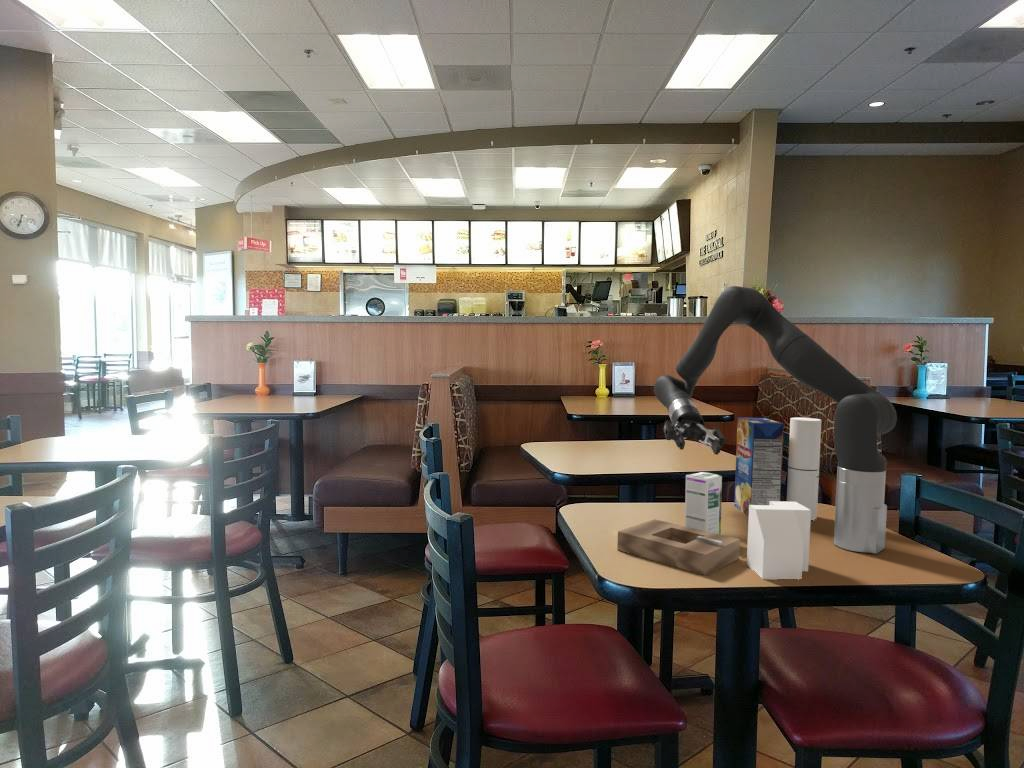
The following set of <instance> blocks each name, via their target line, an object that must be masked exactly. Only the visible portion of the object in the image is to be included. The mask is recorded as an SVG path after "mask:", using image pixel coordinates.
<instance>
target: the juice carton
mask: <svg viewBox="0 0 1024 768" xmlns="http://www.w3.org/2000/svg"><path fill="white" fill-rule="evenodd" d="M784 424H785V423H784V422H780V421H777V420H773V419H770V418H766V417H737V427H736V451H735V452H736V456H735V477H734V478H735V480H734V501H733V502H734V503H739V504H734V503H733V505H734V507H735V508H736V509H737V510H739V511H740V512H741V513H743V514H744V515H745V516H747V517H748V518H749V505H769V501H781V497H782V496H781V495H782V493H781V492H782V472H783V471H782V469H783V451H784V450H783V449H784V448H783V447H784V446H783V445H784Z"/></svg>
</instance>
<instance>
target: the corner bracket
mask: <svg viewBox="0 0 1024 768" xmlns="http://www.w3.org/2000/svg"><path fill="white" fill-rule="evenodd" d="M811 523H812V521H811V510H810V509H808V508H806V507H805V506H803V505H801V504H799V503H797V502H787V500H785V501H784V500H783V501H781V500H780V501H769V505H749V517H748V523H747V545H746V547H747V548H746V565H747V567H748V568H750V569H751V570H752V571H753V570H754V571H755V572H756V573H757V574H758V575H759V576H760V577H761V578H762V580H777V579H798V580H797V581H800V580H799V579H803V578H802V577H803V572H809V563H810V562H809V561H810V539H811V538H810V537H811V536H810V535H811ZM754 571H753V572H754ZM755 572H754V573H755ZM756 573H755V574H756ZM757 574H756V575H757ZM758 575H757V576H758ZM759 576H758V577H759ZM760 577H759V578H760ZM761 578H760V579H761Z"/></svg>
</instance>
